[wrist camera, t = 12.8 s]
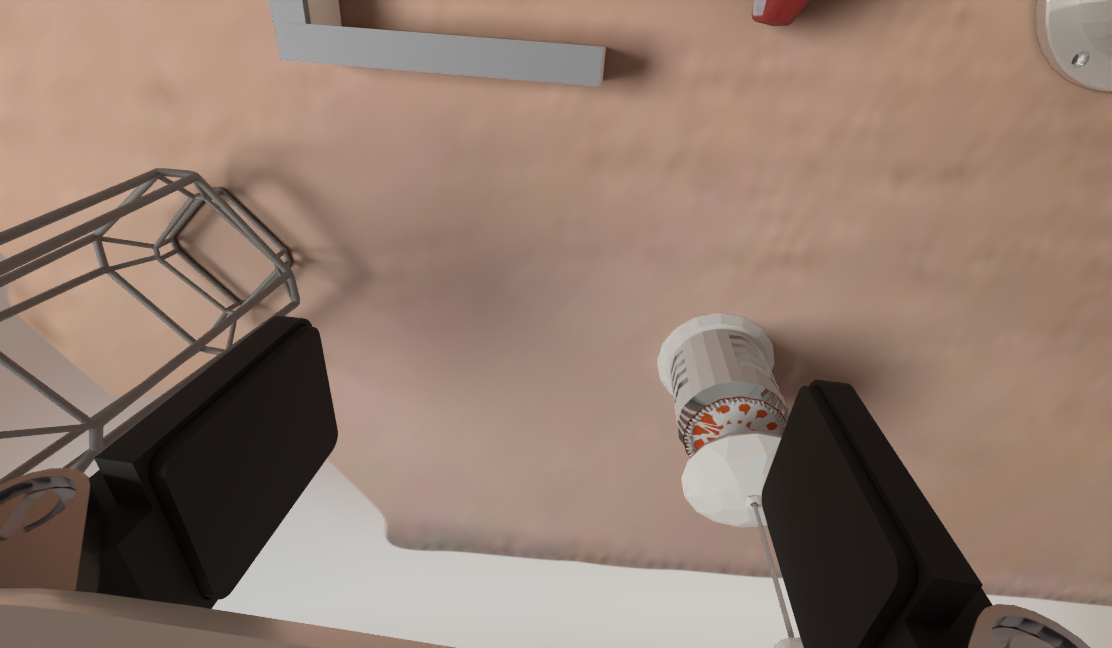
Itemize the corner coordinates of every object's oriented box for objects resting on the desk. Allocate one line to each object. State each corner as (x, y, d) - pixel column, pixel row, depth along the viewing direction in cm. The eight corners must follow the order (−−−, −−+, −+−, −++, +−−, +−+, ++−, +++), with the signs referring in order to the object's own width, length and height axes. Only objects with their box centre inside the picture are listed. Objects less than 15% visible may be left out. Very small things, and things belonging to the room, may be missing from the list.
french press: (756, 296, 41) (907, 588, 19) (793, 405, 45) (948, 742, 24) (640, 335, 44) (655, 628, 22) (685, 434, 48) (735, 758, 26)
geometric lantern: (211, 116, 39) (-1190, 409, 9) (361, 274, 44) (-171, 790, 14) (109, 228, 44) (-958, 646, 14) (253, 356, 50) (-293, 852, 20)
